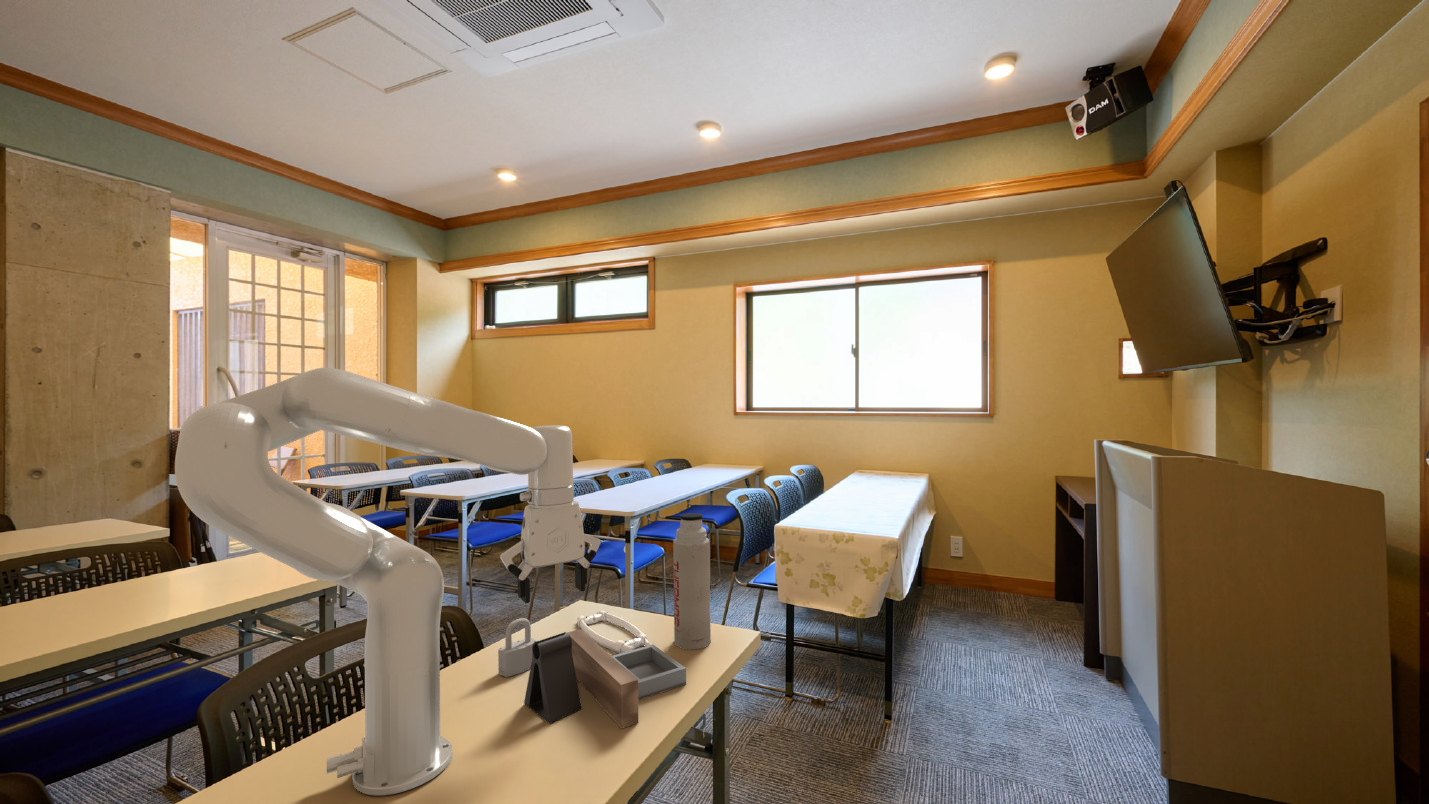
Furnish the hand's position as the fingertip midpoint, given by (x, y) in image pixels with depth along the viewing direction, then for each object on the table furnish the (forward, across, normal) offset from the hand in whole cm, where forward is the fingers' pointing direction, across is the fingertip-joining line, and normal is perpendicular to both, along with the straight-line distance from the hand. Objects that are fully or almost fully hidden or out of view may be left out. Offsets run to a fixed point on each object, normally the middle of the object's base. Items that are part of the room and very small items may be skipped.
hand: (553, 594), depth 98 cm
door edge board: (+19, +8, 0) cm, 21 cm away
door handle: (+20, +20, +23) cm, 37 cm away
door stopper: (+20, -1, 0) cm, 20 cm away
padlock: (+20, -2, +18) cm, 27 cm away
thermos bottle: (+20, +33, +9) cm, 40 cm away
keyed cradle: (+20, +17, 0) cm, 26 cm away
